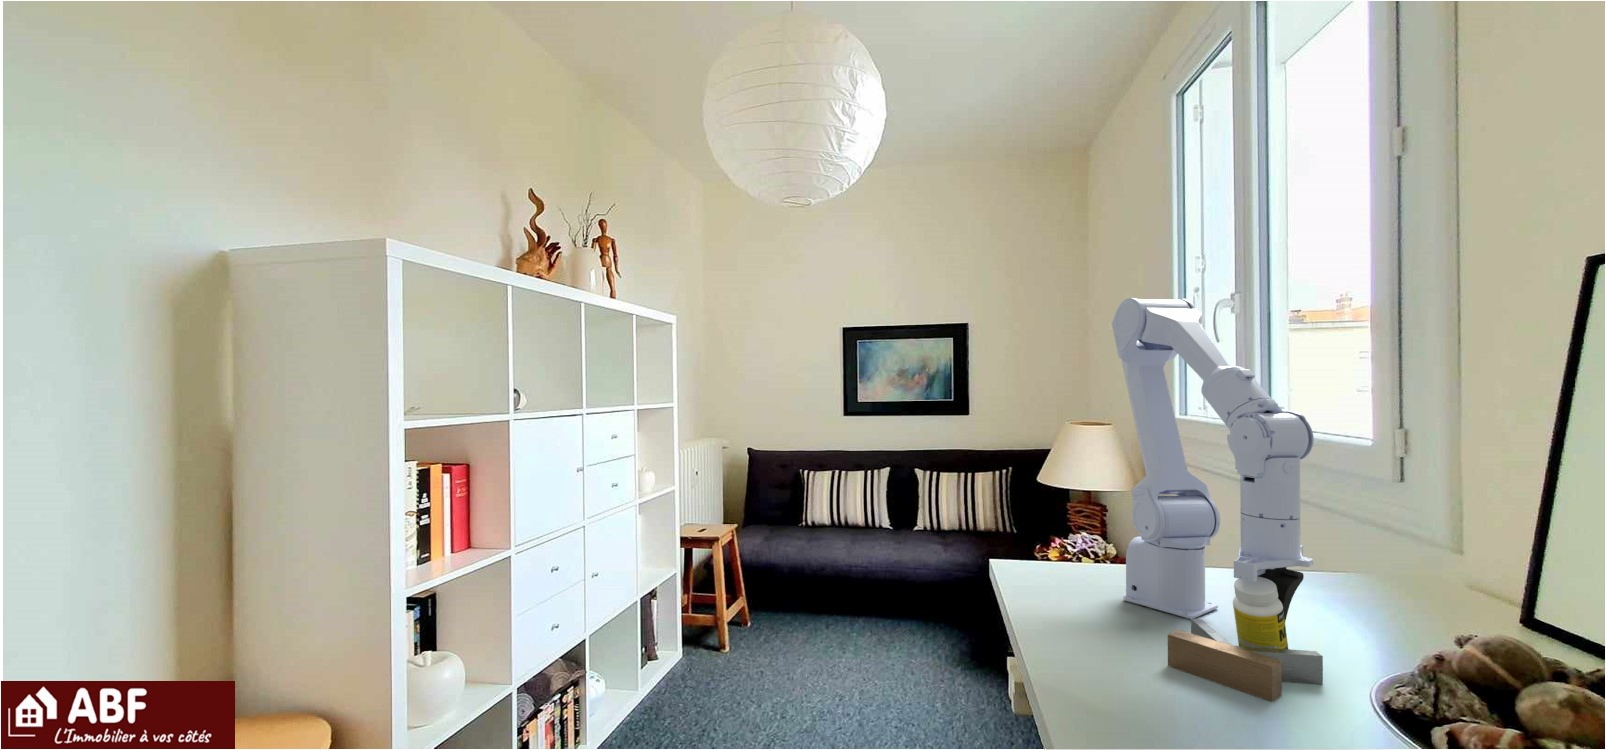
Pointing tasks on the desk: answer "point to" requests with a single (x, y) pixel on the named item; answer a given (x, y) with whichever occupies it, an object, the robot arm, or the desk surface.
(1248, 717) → the desk surface
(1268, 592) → the supplement bottle
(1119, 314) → the robot arm
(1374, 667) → the desk surface
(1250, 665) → the v block
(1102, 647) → the desk surface
